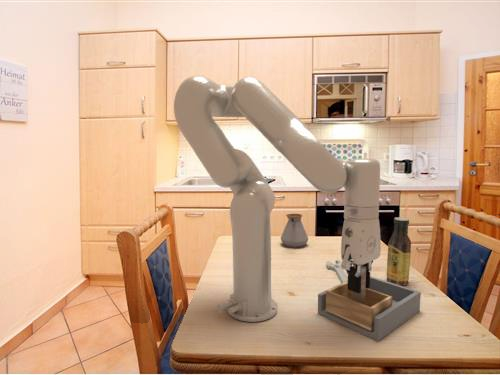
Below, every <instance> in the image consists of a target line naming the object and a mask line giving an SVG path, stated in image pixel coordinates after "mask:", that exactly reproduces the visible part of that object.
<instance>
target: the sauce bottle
mask: <svg viewBox="0 0 500 375" xmlns="http://www.w3.org/2000/svg"><path fill="white" fill-rule="evenodd" d="M393 224H394V225H393V232H392V235H391V237H390V239H389V241H388V244H387V260H386V281H387V282H390V283H394V284H397V285H400V286H406V285H408V284H409V279H410V269H411V268H410V266H411V257H412V256H411V255H412V249H411V247H412V242H411V239H410V237H409V235H408V234H409V224H410V219H409V218H406V217H400V216H399V217H396V216H395V217H394V218H393Z"/></svg>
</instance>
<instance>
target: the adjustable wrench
mask: <svg viewBox="0 0 500 375" xmlns="http://www.w3.org/2000/svg"><path fill="white" fill-rule="evenodd" d="M342 261H343V260H340V259H339V260H338V259H335V263H333V262H331V261H329V260H327V261H326V265H325V266H326V267H325V268H326V269H327V270H330V271H332V272H335V274H336V276H337V277H338V279H339V281H340V282H341V283H344V282H346V281H348V274H347V273H346V272H345V270H344V269H343V268H342V267H341V264H342ZM341 283H340V284H341Z"/></svg>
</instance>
